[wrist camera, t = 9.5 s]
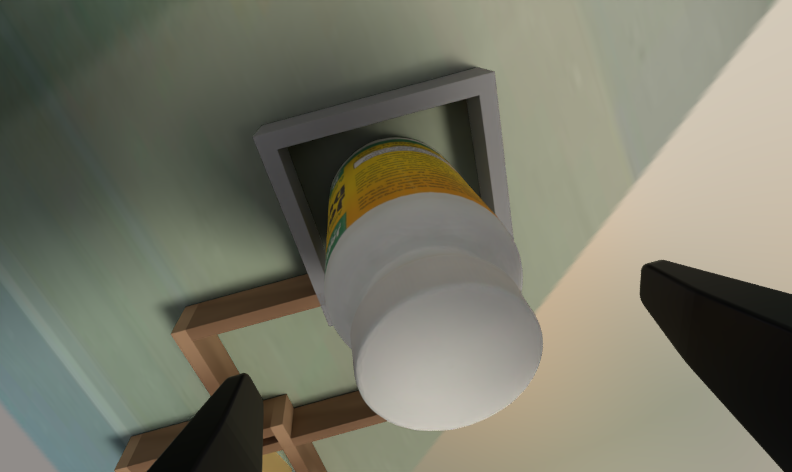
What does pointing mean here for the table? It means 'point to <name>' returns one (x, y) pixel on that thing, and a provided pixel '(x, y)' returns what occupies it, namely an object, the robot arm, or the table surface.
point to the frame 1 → (374, 109)
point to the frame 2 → (216, 366)
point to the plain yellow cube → (274, 463)
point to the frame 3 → (275, 423)
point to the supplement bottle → (425, 290)
